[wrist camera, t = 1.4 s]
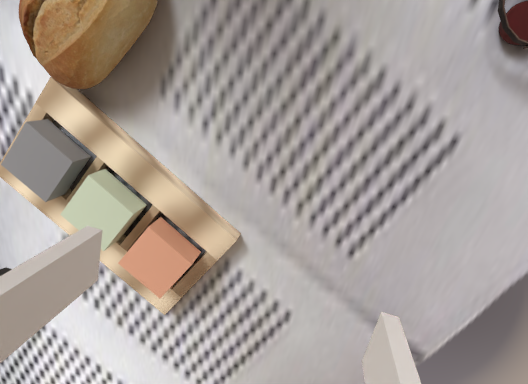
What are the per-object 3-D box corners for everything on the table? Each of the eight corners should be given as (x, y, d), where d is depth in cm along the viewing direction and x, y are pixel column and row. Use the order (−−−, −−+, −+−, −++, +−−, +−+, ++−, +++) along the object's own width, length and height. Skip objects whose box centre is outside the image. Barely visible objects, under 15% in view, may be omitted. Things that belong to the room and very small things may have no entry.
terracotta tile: (131, 251, 42) (117, 263, 39) (160, 216, 40) (148, 226, 37) (170, 284, 42) (159, 298, 39) (201, 251, 40) (192, 264, 37)
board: (9, 168, 43) (-6, 172, 41) (63, 77, 39) (50, 77, 37) (171, 305, 45) (164, 315, 43) (240, 233, 41) (236, 240, 39)
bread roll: (39, 49, 39) (-29, 40, 31) (111, -78, 34) (51, -125, 26) (107, 110, 39) (56, 115, 32) (187, -6, 35) (150, -32, 27)
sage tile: (78, 205, 41) (60, 214, 38) (105, 168, 39) (88, 175, 36) (118, 239, 41) (103, 251, 39) (147, 204, 40) (133, 214, 37)
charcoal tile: (23, 159, 40) (0, 164, 37) (47, 119, 38) (26, 121, 36) (64, 194, 41) (45, 202, 38) (91, 156, 39) (72, 161, 36)
